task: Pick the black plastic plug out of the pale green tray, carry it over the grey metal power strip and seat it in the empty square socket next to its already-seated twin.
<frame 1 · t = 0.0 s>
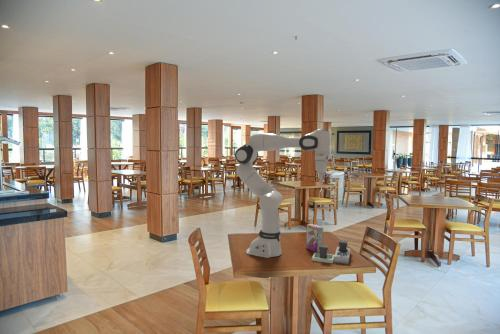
hand: (321, 179, 203), 48 cm above the table, fingers open, 8 cm apart
pdu strip: (342, 258, 207), on the table
black plug: (323, 259, 204), point 1 cm above the table, touching plug tray
candy bar box: (314, 250, 223), on the table
plug tray: (323, 260, 204), on the table
seated twin plug: (342, 254, 211), resting on pdu strip
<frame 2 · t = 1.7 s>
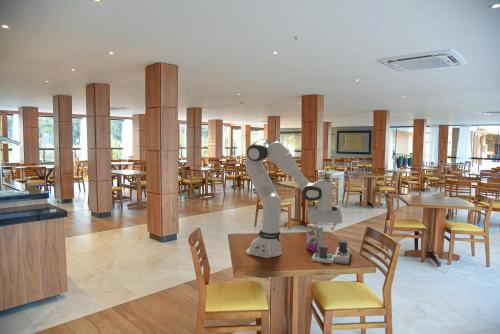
hand: (324, 229, 203), 19 cm above the table, fingers open, 8 cm apart
nothing on the table moved.
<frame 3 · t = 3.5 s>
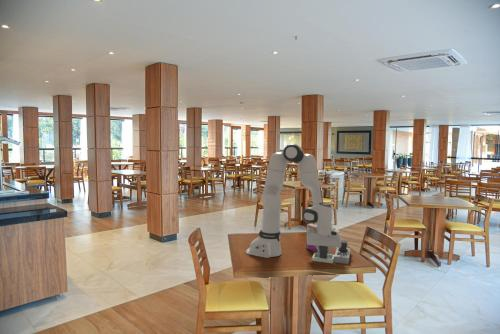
hand: (323, 253, 204), 4 cm above the table, fingers closed on black plug, 4 cm apart
black plug: (323, 259, 204), point 1 cm above the table, touching gripper, plug tray
everything else where it was.
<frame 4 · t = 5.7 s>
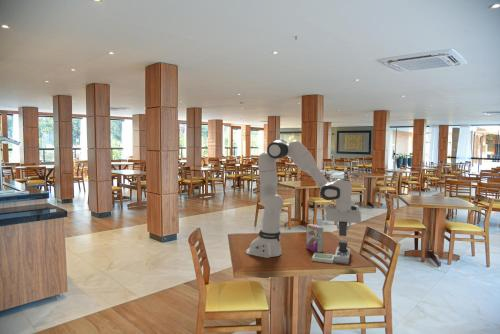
hand: (343, 229, 202), 19 cm above the table, fingers closed on black plug, 4 cm apart
black plug: (342, 235, 203), point 16 cm above the table, touching gripper
everything else where it was.
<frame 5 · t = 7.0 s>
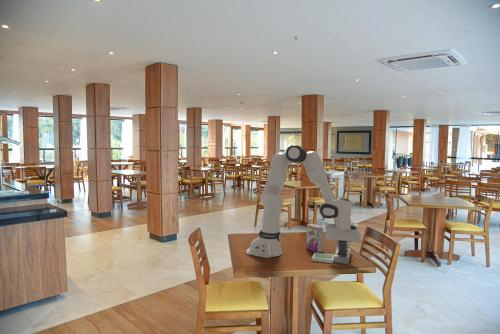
hand: (342, 247, 203), 8 cm above the table, fingers closed on black plug, 4 cm apart
black plug: (342, 253, 204), point 4 cm above the table, touching gripper
everything else where it was.
when the fingers open (6 cm above the table, at t = 7.7 s): black plug stays where it is, resting on pdu strip.
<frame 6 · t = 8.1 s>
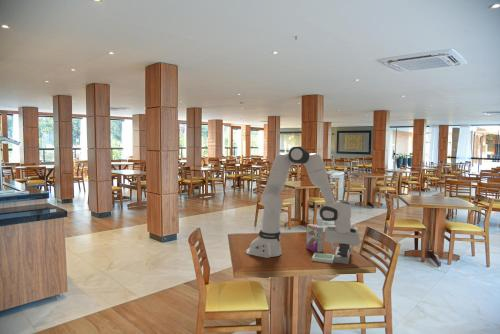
hand: (342, 250, 203), 6 cm above the table, fingers open, 8 cm apart
black plug: (342, 256, 203), point 2 cm above the table, tilted 11°, touching gripper, pdu strip
everything else where it was.
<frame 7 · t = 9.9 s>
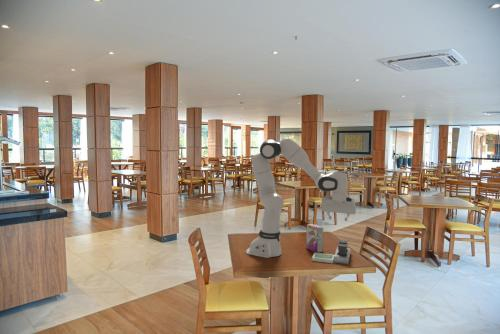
hand: (337, 219, 207), 23 cm above the table, fingers open, 8 cm apart
black plug: (342, 258, 204), point 1 cm above the table, touching pdu strip
everything else where it was.
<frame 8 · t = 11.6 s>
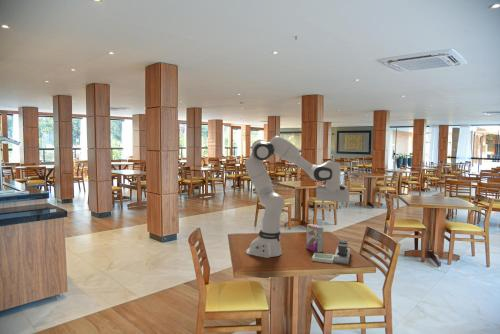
hand: (332, 208, 215), 29 cm above the table, fingers open, 8 cm apart
nothing on the table moved.
at the end: black plug 0.2 cm from the target spot on the pdu strip, point 1.5 cm above the pdu strip's base; black plug tilted 0°; the gripper is holding nothing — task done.
